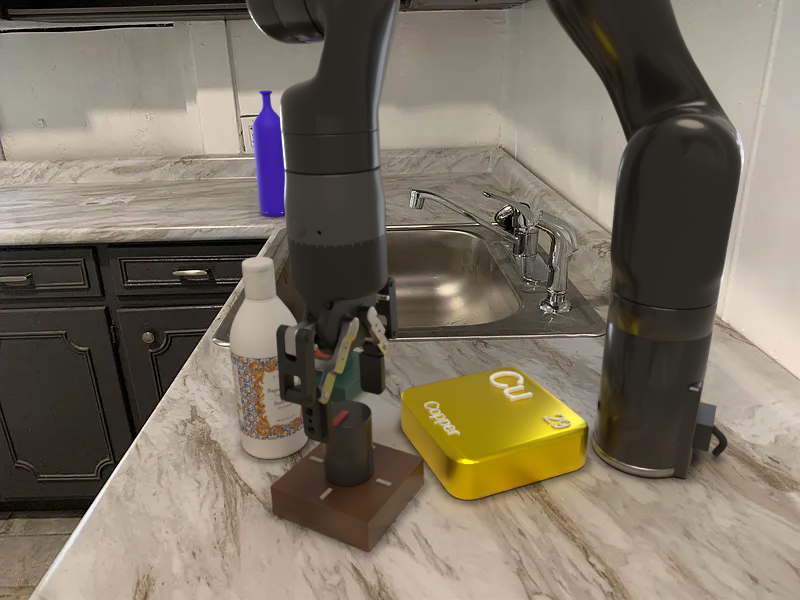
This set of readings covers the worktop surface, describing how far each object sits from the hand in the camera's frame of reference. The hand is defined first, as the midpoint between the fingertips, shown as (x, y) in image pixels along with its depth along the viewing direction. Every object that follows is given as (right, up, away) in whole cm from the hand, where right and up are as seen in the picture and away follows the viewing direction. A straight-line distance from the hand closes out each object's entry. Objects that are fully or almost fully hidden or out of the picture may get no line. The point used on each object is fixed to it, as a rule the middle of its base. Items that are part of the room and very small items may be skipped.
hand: (348, 413), depth 54 cm
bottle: (-27, +32, +109) cm, 117 cm away
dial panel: (0, -9, +4) cm, 10 cm away
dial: (0, -6, +3) cm, 7 cm away
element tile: (+14, -6, +12) cm, 19 cm away
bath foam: (-9, -6, +13) cm, 17 cm away
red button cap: (-5, +3, +24) cm, 25 cm away
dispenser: (-5, 0, +26) cm, 26 cm away
